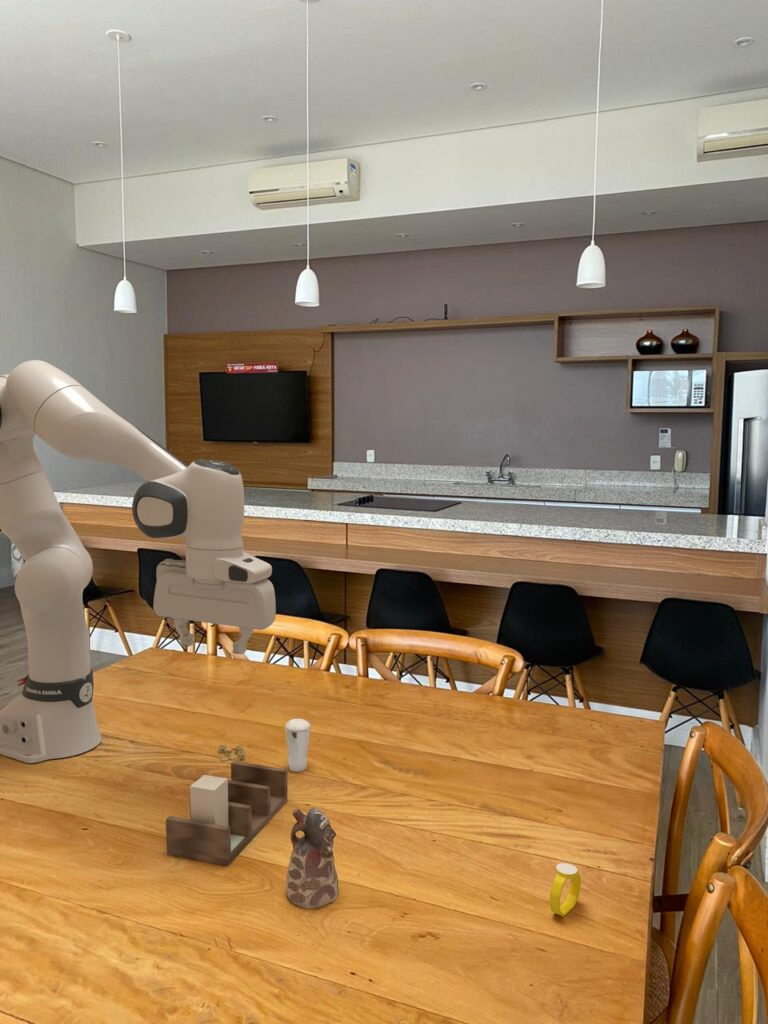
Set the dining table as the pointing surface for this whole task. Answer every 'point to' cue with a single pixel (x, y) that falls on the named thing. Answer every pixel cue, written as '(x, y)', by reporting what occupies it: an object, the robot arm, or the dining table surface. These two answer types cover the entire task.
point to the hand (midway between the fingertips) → (212, 649)
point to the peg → (210, 800)
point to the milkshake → (297, 743)
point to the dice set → (228, 751)
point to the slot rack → (231, 816)
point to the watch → (563, 873)
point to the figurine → (312, 861)
